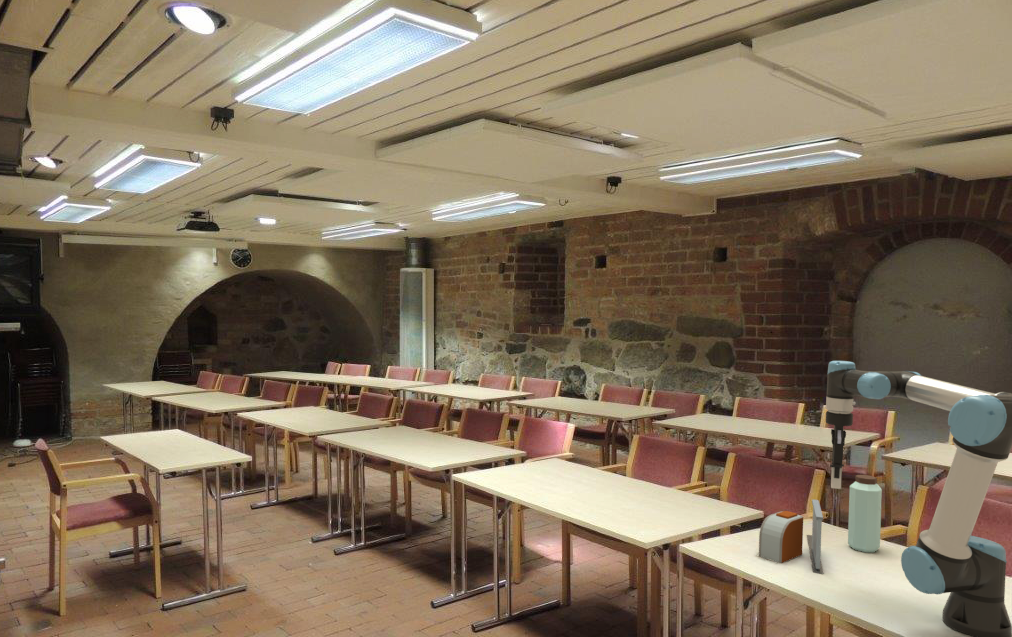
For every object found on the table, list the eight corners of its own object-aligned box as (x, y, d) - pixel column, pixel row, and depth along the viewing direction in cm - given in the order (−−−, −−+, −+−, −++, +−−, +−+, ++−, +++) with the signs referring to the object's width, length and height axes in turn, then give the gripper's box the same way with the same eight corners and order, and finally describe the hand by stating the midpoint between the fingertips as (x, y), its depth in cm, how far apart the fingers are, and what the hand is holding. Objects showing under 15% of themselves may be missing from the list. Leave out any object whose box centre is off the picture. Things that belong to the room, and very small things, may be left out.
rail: (823, 573, 218) (823, 573, 218) (813, 572, 219) (813, 571, 219) (815, 536, 255) (815, 535, 255) (806, 535, 256) (806, 534, 256)
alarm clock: (780, 547, 243) (782, 508, 243) (804, 554, 236) (805, 514, 236) (757, 555, 233) (758, 515, 233) (781, 563, 227) (782, 521, 226)
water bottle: (841, 545, 246) (843, 474, 245) (860, 542, 250) (863, 472, 249) (866, 555, 236) (868, 481, 236) (886, 551, 241) (888, 479, 240)
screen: (821, 569, 220) (823, 517, 220) (814, 568, 221) (816, 516, 221) (816, 547, 241) (818, 500, 241) (810, 546, 242) (812, 499, 241)
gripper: (854, 415, 206) (850, 495, 207) (851, 409, 218) (848, 484, 219) (826, 413, 209) (823, 491, 210) (825, 407, 221) (821, 481, 222)
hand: (835, 487), depth 215 cm, fingers closed
